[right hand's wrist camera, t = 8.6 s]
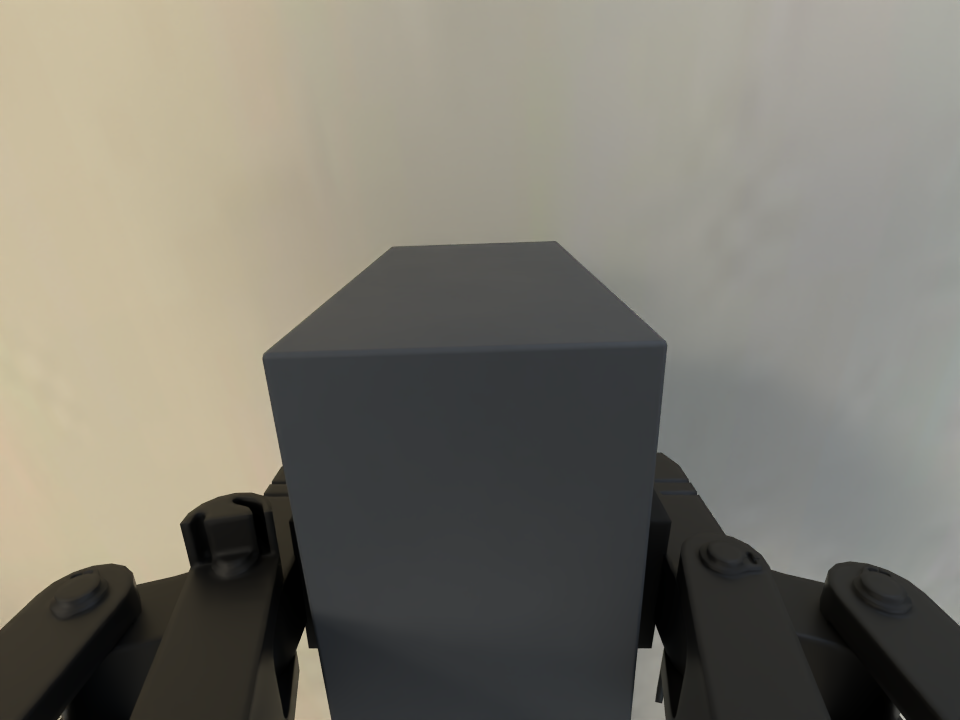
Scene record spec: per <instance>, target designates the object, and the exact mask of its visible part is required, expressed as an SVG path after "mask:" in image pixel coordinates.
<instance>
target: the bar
mask: <svg viewBox="0 0 960 720" xmlns="http://www.w3.org/2000/svg"><path fill="white" fill-rule="evenodd" d="M666 352H667V344H666V341H665V340H664V339H663V338H662V337H660V336H659V335H658V334H657V333H656V332H655V331H654V330H653V329H652V328H651V327H650V326H648V325H647V324H646V323H645V322H644V321H643V320H642V319H641V318H640V317H639V316H637V315H636V314H635V313H634V312H633V311H632V310H631V309H630V308H629V307H628V306H626V305H625V304H624V303H623V302H622V301H621V300H620V299H619V298H618V297H617V296H615V295H614V294H613V293H612V292H611V291H610V290H609V289H608V288H607V287H606V286H605V285H603V284H602V283H601V282H600V281H599V280H598V279H597V278H596V277H595V276H594V275H592V274H591V273H590V272H589V271H588V270H587V269H586V268H585V267H584V266H583V265H581V264H580V263H579V262H578V261H577V260H576V259H575V258H574V257H573V256H572V255H571V254H569V253H568V252H567V251H566V250H565V249H564V248H563V247H562V246H561V245H560V244H558V243H557V242H555V241H548V242H518V243H489V244H459V245H429V246H400V247H391V248H390V249H389V250H388V251H387V252H385V253H384V254H383V255H382V256H381V257H379V258H378V259H377V260H376V261H375V262H373V263H372V264H371V265H370V266H368V267H367V268H366V269H365V270H364V271H362V272H361V273H360V274H359V275H358V276H356V277H355V278H354V279H353V280H352V281H350V282H349V283H348V284H347V285H346V286H344V287H343V288H342V289H341V290H340V291H338V292H337V293H336V294H335V295H334V296H332V297H331V298H330V299H329V300H328V301H326V302H325V303H324V304H323V305H322V306H320V307H319V308H318V309H317V310H316V311H314V312H313V313H312V314H311V315H310V316H308V317H307V318H306V319H305V320H304V321H302V322H301V323H300V324H299V325H298V326H296V327H295V328H294V329H293V330H292V331H290V332H289V333H288V334H287V335H286V336H284V337H283V338H282V339H281V340H280V341H278V342H277V343H276V344H275V345H273V346H272V347H271V348H270V349H269V350H267V351H266V352H265V353H264V354H263V364H264V369H265V375H266V380H267V385H268V390H269V396H270V401H271V406H272V411H273V416H274V422H275V427H276V432H277V437H278V443H279V448H280V453H281V458H282V464H283V469H284V474H285V479H286V484H287V490H288V495H289V500H290V505H291V511H292V516H293V521H294V526H295V532H296V537H297V542H298V547H299V552H300V558H301V563H302V568H303V573H304V579H305V584H306V589H307V594H308V600H309V605H310V610H311V615H312V620H313V626H314V631H315V636H316V641H317V647H318V652H319V657H320V662H321V668H322V673H323V678H324V683H325V688H326V694H327V699H328V704H329V709H330V715H331V720H631V711H632V701H633V691H634V680H635V670H636V660H637V650H638V639H639V629H640V619H641V609H642V598H643V588H644V578H645V568H646V557H647V547H648V537H649V527H650V516H651V506H652V496H653V486H654V475H655V465H656V455H657V445H658V434H659V424H660V414H661V404H662V393H663V383H664V373H665V363H666Z"/></svg>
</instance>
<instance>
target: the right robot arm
mask: <svg viewBox="0 0 960 720" xmlns="http://www.w3.org/2000/svg"><path fill="white" fill-rule="evenodd" d="M180 526H181V530H182V534H183V538H184V542H185V546H186V550H187V554H188V558H189V562H190V566H191V568H190V570H189V572H188V573H184V574H181V575H177V576H174V577H169V578H165V579H161V580H156V581H152V582H147V583H143V584H139V585H136V582H135V579H134V576H133V573H132V572H131V571H130V570H129V569H128V568H127V567H126V566H122V565H117V564H104V565H96V566H91V567H88V568H85V569H81V570H79V571H76V572H73V573H71V574H69V575H67V576H65V577H63V578H61V579H59V580H58V581H56V582H54V583H52V584H51V585H50V586H48V587H47V588H46V589H44V590H43V591H42V592H41V593H39V594H38V595H37V596H36V597H34V598H33V599H32V600H31V601H30V602H29V603H28V604H27V605H26V606H25V607H24V608H23V609H22V610H21V611H20V612H19V613H18V614H17V615H16V616H15V617H13V618H12V619H11V620H10V621H9V622H8V623H7V624H6V625H5V626H4V627H3V628H2V629H1V630H0V720H57V719H58V718H59V717H60V716H62V718H61V719H60V720H294V718H295V708H296V698H297V689H298V679H299V664H298V657H297V651H296V649H297V646H298V644H299V641H300V639H301V636H302V633H303V631H304V628H305V627H306V633H307V639H308V645H309V648H318V647H317V641H316V636H315V631H314V626H313V620H312V615H311V610H310V605H309V600H308V594H307V589H306V584H305V579H304V573H303V568H302V563H301V558H300V552H299V547H298V542H297V537H296V532H295V526H294V521H293V516H292V511H291V505H290V500H289V495H288V490H287V484H286V479H285V474H284V469H283V466H282V467H281V469H280V470H279V472H278V473H277V475H276V476H275V478H274V479H273V481H272V484H270V485H269V487H268V488H267V490H266V491H265V493H264V496H262V495H258V494H254V493H233V494H229V495H225V496H220V497H217V498H215V499H212V500H210V501H208V502H205V503H203V504H201V505H200V506H198V507H197V508H195V509H194V510H193V511H191V512H190V513H188V515H187V516H186V517H185V518H184V520H183V521H182V522H181V523H180ZM655 624H656V627H657V630H658V632H659V635H660V637H661V640H662V643H663V645H664V651H663V657H662V663H661V669H660V675H659V680H658V686H657V693H656V700H655V702H658V703H662V701H663V697H664V707H665V716H666V720H903V719H902V718H901V717H900V713H901V714H902V715H903V716H904V718H905V719H906V720H960V626H959V625H958V624H957V623H956V622H955V621H954V620H953V619H952V618H951V617H949V616H948V615H947V614H946V613H945V612H944V611H943V610H942V609H941V608H940V607H939V606H938V605H937V604H936V603H935V602H934V601H933V600H931V599H930V598H929V597H928V596H927V595H926V594H925V593H924V592H923V591H921V590H920V589H919V588H917V587H916V586H915V585H913V584H912V583H911V582H909V581H908V580H906V579H904V578H902V577H900V576H898V575H896V574H894V573H893V572H891V571H889V570H886V569H883V568H880V567H877V566H874V565H870V564H866V563H858V562H844V563H838V564H835V565H834V566H833V567H832V568H831V569H830V570H829V571H828V574H827V577H826V581H825V583H823V582H818V581H814V580H809V579H805V578H800V577H796V576H792V575H787V574H784V573H780V572H777V571H773V570H771V569H770V567H769V565H768V564H767V562H766V561H765V559H764V558H763V556H762V555H761V554H760V553H758V552H757V551H756V550H755V549H753V548H752V547H751V546H750V545H748V544H746V543H744V542H742V541H740V540H738V539H736V538H734V537H730V536H726V535H725V533H724V532H723V530H722V529H721V527H720V526H719V524H718V523H717V521H716V520H715V518H714V517H713V515H712V514H711V512H710V511H709V509H708V508H707V506H706V505H705V503H704V502H703V500H702V499H701V497H700V496H699V495H697V491H696V490H695V488H694V487H693V485H692V484H691V483H689V479H688V478H687V476H686V475H685V473H684V472H683V470H682V469H681V467H680V466H679V465H678V464H677V463H675V462H674V461H672V460H671V459H670V458H668V457H667V456H665V455H664V454H663V453H657V455H656V465H655V475H654V486H653V496H652V506H651V516H650V527H649V537H648V547H647V557H646V568H645V578H644V588H643V598H642V609H641V619H640V629H639V639H638V648H652V642H653V636H654V629H655Z"/></svg>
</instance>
